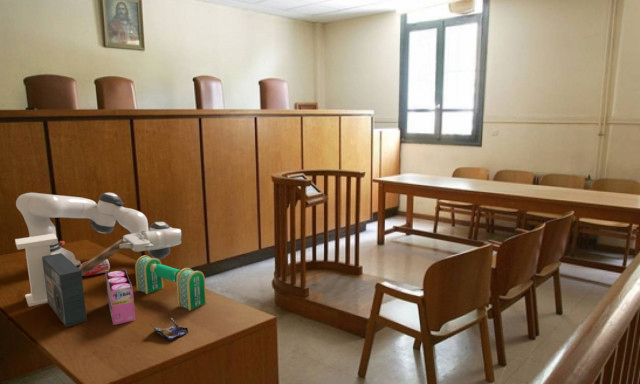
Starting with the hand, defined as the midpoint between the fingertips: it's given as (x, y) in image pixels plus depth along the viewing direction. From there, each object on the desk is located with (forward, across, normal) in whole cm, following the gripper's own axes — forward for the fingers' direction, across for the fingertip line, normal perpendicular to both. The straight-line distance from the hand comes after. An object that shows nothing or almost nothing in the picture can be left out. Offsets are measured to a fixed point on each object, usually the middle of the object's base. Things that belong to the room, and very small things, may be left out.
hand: (117, 245), depth 206 cm
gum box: (+8, -34, -18) cm, 39 cm away
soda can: (0, +18, -14) cm, 23 cm away
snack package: (0, -64, -18) cm, 67 cm away
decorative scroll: (-12, -32, -17) cm, 39 cm away
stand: (+30, 0, -18) cm, 35 cm away
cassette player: (+25, -20, -19) cm, 37 cm away
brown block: (+6, 0, -6) cm, 8 cm away
